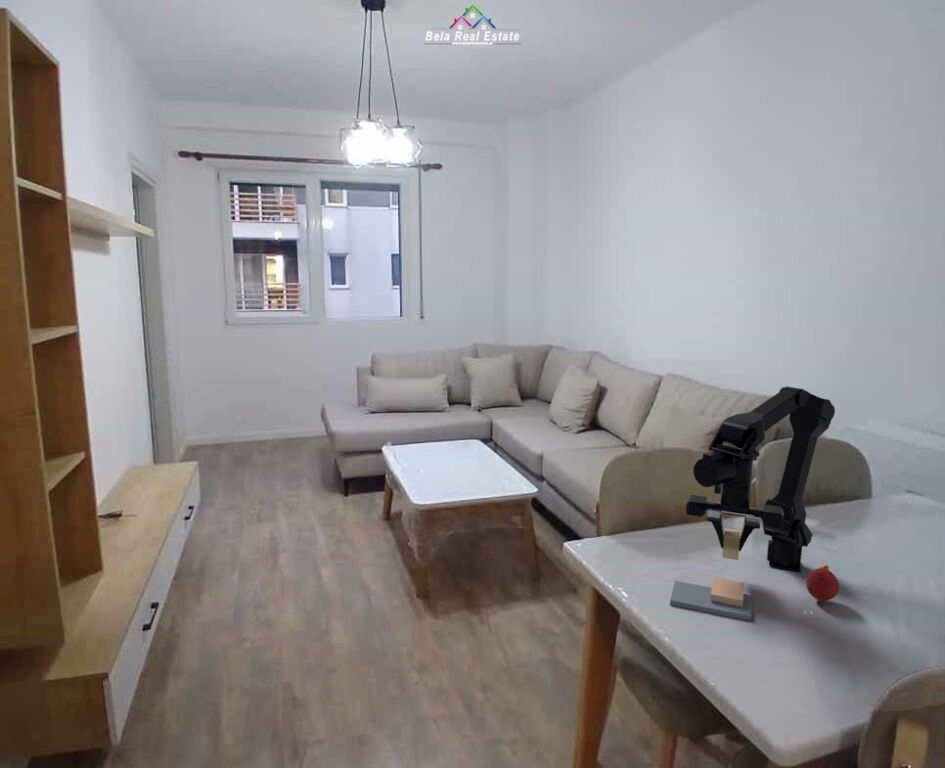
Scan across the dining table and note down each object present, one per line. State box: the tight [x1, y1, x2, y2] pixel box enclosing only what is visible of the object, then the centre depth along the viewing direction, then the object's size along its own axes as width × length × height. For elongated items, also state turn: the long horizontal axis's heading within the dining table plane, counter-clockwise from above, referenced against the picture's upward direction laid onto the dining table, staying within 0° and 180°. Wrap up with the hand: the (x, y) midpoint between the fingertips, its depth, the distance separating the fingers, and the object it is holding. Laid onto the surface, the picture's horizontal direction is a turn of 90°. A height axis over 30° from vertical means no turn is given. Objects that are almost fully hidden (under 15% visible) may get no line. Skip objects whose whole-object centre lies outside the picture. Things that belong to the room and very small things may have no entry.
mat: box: [669, 580, 753, 622], centre depth 128 cm, size 15×9×1 cm, turn 66°
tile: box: [710, 576, 745, 607], centre depth 128 cm, size 6×2×8 cm
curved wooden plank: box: [721, 527, 741, 561], centre depth 134 cm, size 12×3×4 cm, turn 156°
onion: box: [805, 564, 840, 603], centre depth 128 cm, size 6×6×8 cm
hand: (730, 549), depth 133 cm, fingers closed on curved wooden plank, 3 cm apart
